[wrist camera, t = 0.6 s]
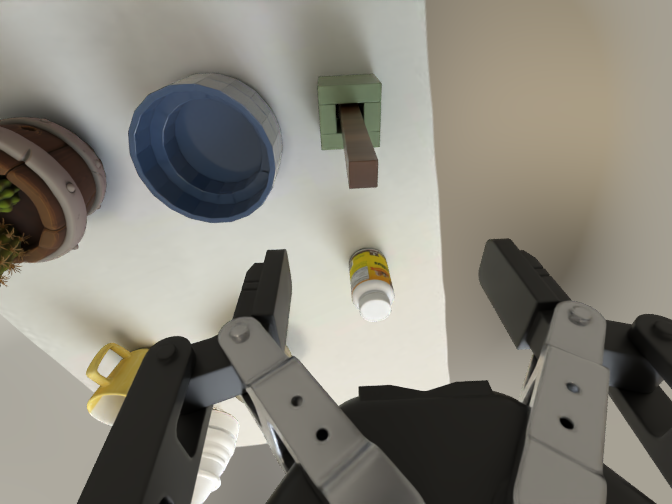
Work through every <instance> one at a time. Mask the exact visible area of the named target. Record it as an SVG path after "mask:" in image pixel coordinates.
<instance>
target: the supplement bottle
mask: <svg viewBox="0 0 672 504" xmlns="http://www.w3.org/2000/svg"><path fill="white" fill-rule="evenodd" d="M349 270H350V282H351V294H352V301H353V304H354V305H355V307H356V308H357V309H358V310H360V315H361V316H362V317H363V318H364V319H365V320H368V321H372V322H377V321H381V320H384V319H385V318H387V317H388V316H389V315H390V313H391V304H392V303H393V301H394V290H393V286H392V282H391V278H390V274H389V270H388V266H387V262H386V259H385V257H384V255H383V254H382V253H381V252H379V251H377V250H375V249H363V250H360V251H358V252H356V253H355V254H354V255H353V256H352V257H351V259H350V262H349Z"/></svg>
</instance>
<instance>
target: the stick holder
mask: <svg viewBox="0 0 672 504" xmlns="http://www.w3.org/2000/svg"><path fill="white" fill-rule="evenodd" d="M381 89H382V83H381V82H380V81H379V80H378V78H377V77H376V76H375V75H374V74H360V75H341V76H322V77H319V78H318V86H317V90H318V104H319V119H320V133H321V148H322V150H333V149H344V146H343V138H342V131H341V123H340V118H336V104H344V103H359V109H360V112H361V114H362V117H363V120H364V123H365V126H366V128H367V131H368V134H369V137H370V139H371V142H372V145H373V147H380V121H381Z"/></svg>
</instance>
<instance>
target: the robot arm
mask: <svg viewBox="0 0 672 504" xmlns="http://www.w3.org/2000/svg"><path fill="white" fill-rule="evenodd" d="M479 281H480V284H481V286H482V288H483V290H484V291H485V293H486V295H487V297H488V299H489V300H490V302H491V304H492V305H493V307H494V309H495V311H496V313H497V314H498V316H499V318H500V320H501V322H502V323H503V325H504V327H505V329H506V330H507V332H508V334H509V336H510V337H511V339H512V341H513V342H514V344H515V346H516V348H517V349H531V350H532V352H533V355H532V357H531V360H530V363H529V366H528V370H527V373H526V377H525V380H524V383H523V386H522V390H521V393H520V396H519V399H518V400H516V399H514V398H512V397H510V396H507V395H505V394H502V393H499V392H495V391H492V389H491V387H490V385H489V382H488V381H487V380H486V381H465V382H454V383H451V384H448V385H445V386H441V387H438V388H435V389H432V390H429V391H419V390H414V389H409V388H403V387H398V386H393V385H381V386H360V387H359V396H358V397H355V398H353V399H350V400H348V401H346V402H344V403H343V404H341V405H339V406H338V405H337V404H336V403H335V402H334V400H333V399H332V398H331V397H330V396H329V395H328V393H327V392H326V391H325V390H324V389H323V388H322V386H321V385H320V384H319V383H318V382H317V381H316V379H315V378H314V377H313V376H312V375H311V374H310V372H309V371H308V370H307V369H306V368H305V366H304V365H303V364H302V363H301V362H300V361H299V360H298V359H297V358H296V357H295V356H292V357H290V358H289V357H288V356H287V355H286V354H285V353H284V352H285V344H286V336H287V327H288V319H289V311H290V303H291V295H292V281H291V274H290V268H289V262H288V256H287V251H286V249H280V250H267V252H266V256H265V260H264V263H254V264H253V266H252V267H251V268H250V269H249V270H248V271H247V273H246V276H245V280H244V283H243V286H242V291H241V293H240V296H239V299H238V302H237V306H236V309H235V312H234V316H233V319H232V320H231V321H229V322H227V323H226V324H225V325H224V326H223V327H222V328H221V330H220V331H219V334H218V335H217V336H214V337H212V338H209V339H206V340H203V341H200V342H196V343H193V344H191V343H190V342H189V340H188V339H186V338H184V337H181V336H173V337H168V338H165V339H163V340H161V341H159V342H157V343H156V344H154V345H153V346H152V347H151V348H150V349H149V350H148V351H147V353H146V354H145V356H144V358H143V360H142V362H141V365H140V367H139V369H138V371H137V373H136V375H135V378H134V380H133V382H132V384H131V386H130V389H129V391H128V393H127V395H126V397H125V400H124V402H123V404H122V406H121V408H120V410H119V413H118V415H117V417H116V419H115V421H114V424H113V426H112V428H111V430H110V432H109V435H108V437H107V439H106V441H105V443H104V446H103V448H102V450H101V452H100V454H99V456H98V459H97V461H96V463H95V465H94V467H93V469H92V472H91V474H90V476H89V478H88V480H87V483H86V485H85V487H84V489H83V491H82V494H81V496H80V498H79V500H78V502H77V504H191V501H192V497H193V492H194V488H195V483H196V479H197V474H198V470H199V466H200V461H201V457H202V452H203V448H204V443H205V439H206V434H207V430H208V425H209V421H210V417H211V412H212V408H213V404H216V403H219V402H222V401H224V400H227V399H230V398H233V397H236V396H238V395H240V397H241V398H242V400H243V402H244V403H245V405H246V407H247V408H248V410H249V412H250V413H251V415H252V416H253V418H254V420H255V421H256V423H257V425H258V426H259V428H260V430H261V431H262V433H263V435H264V437H265V438H266V440H267V443H268V445H269V447H270V449H271V450H272V452H273V454H274V456H275V458H276V459H277V461H278V463H279V464H280V466H281V468H282V469H283V471H284V473H285V474H286V475H285V477H284V478H283V479H282V481H281V483H280V484H279V485H278V487H277V488H276V489H275V491H274V492H273V494H272V495H271V496H270V498H269V499H268V501H267V502H266V504H656V503H655V502H654V501H652V500H651V499H649V498H648V497H647V496H646V495H644V494H643V493H642V492H640V491H639V490H638V489H636V488H635V487H634V486H632V485H631V484H630V483H629V482H627V481H626V480H625V479H623V478H622V477H621V476H619V475H618V474H617V473H615V472H614V471H613V470H611V469H610V468H609V467H607V466H606V465H605V464H604V463H603V454H604V442H605V429H606V416H607V403H608V394H609V396H610V397H611V399H612V400H613V402H614V403H615V405H616V406H617V407H618V409H619V411H620V412H621V414H622V415H623V416H624V418H625V420H626V421H627V422H628V424H629V425H630V427H631V429H632V430H633V431H634V433H635V434H636V436H637V437H638V439H639V440H640V442H641V443H642V445H643V446H644V448H645V449H646V451H647V452H648V454H649V455H650V457H651V458H652V460H653V461H654V463H655V464H656V466H657V467H658V469H659V470H660V472H661V473H662V475H663V476H664V478H665V479H666V481H667V482H668V484H669V485H670V487H671V488H672V401H671V400H670V398H669V397H668V396H667V395H666V394H665V393H664V391H663V390H662V389H661V388H660V386H659V384H660V383H661V382H662V381H663V380H665V382H666V383H667V384H668V385H669V386H670V387H671V389H672V320H671V319H668V318H665V317H663V316H659V315H654V314H643V315H640V316H638V317H637V318H636V320H635V321H634V322H633V324H626V323H621V322H615V321H609V320H605V318H604V317H603V316H602V315H601V314H600V313H599V312H598V311H597V310H596V309H594V308H592V307H591V306H588V305H586V304H584V303H581V302H577V301H572V300H571V299H570V298H569V297H568V296H567V294H566V293H565V292H564V291H563V290H562V289H561V287H560V286H559V285H558V284H557V283H556V281H555V280H554V279H553V278H552V277H551V276H549V273H548V272H547V271H546V270H545V269H543V266H542V265H541V264H540V263H539V261H538V260H537V259H536V258H535V257H533V256H532V255H530V254H529V253H527V252H525V251H524V250H519V249H518V248H517V246H516V245H515V244H514V243H513V242H512V240H511V239H491V240H490V239H489V240H488V241H487V242H486V245H485V249H484V252H483V256H482V260H481V264H480V268H479Z"/></svg>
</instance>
